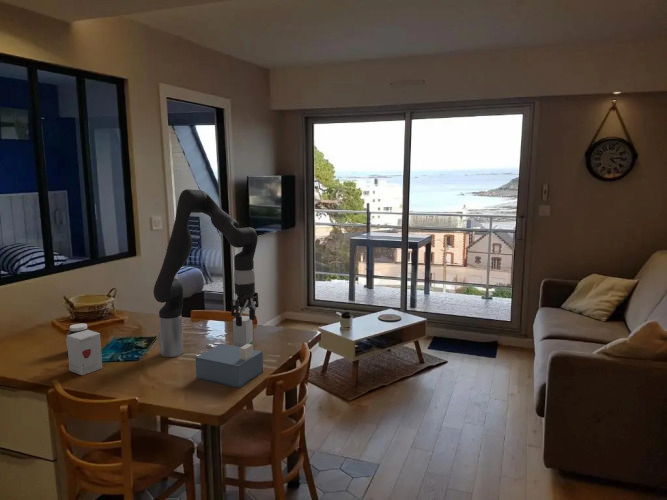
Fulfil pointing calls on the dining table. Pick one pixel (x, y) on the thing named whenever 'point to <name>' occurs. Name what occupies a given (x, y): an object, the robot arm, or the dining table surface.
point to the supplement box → (84, 352)
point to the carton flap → (230, 354)
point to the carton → (229, 372)
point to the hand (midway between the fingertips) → (245, 322)
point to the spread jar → (76, 329)
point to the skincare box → (243, 332)
